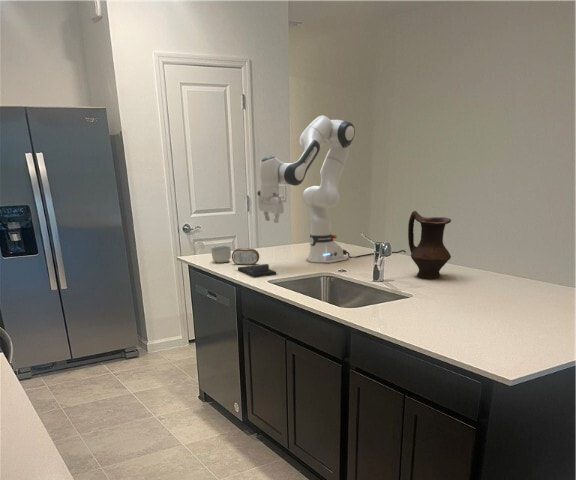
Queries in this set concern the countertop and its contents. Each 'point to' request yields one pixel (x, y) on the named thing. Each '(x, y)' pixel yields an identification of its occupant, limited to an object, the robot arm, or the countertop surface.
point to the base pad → (245, 269)
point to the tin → (245, 256)
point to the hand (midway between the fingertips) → (271, 221)
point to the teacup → (221, 253)
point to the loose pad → (260, 271)
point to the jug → (428, 245)
